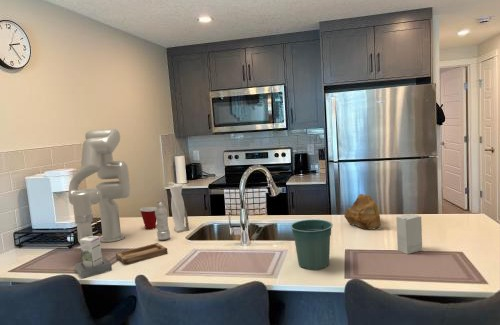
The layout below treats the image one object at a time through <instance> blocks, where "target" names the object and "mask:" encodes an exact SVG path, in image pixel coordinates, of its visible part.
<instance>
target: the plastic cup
mask: <svg viewBox="0 0 500 325" xmlns="http://www.w3.org/2000/svg"><path fill="white" fill-rule="evenodd" d="M157 207H158V206H157ZM157 207H156V206H146V207H141V208H140V209H139V212H140V215H141V217H142V220H143V224H144V228H145V229H146V230H153V228H154V229H156V227H157V219H156V216H155V211H156V209H157Z"/></svg>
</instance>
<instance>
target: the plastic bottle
mask: <svg viewBox="0 0 500 325" xmlns="http://www.w3.org/2000/svg"><path fill="white" fill-rule="evenodd" d="M156 206H157V209H156V211H155V216H156V227H157V231H156V232H157V233H156V236H157V239H159V241H166V240H168V239H169V240H170V237H171V231H170V228H169V222H168V221H169V220H168V218H169V216H168V214H169V213H168V212H169V211H168V208H166V207H165V201H158V202H156Z"/></svg>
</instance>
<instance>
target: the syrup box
mask: <svg viewBox="0 0 500 325" xmlns="http://www.w3.org/2000/svg"><path fill="white" fill-rule="evenodd" d="M100 238H101V237H100V236H97V235H93V236H87V237H84V238H82V239H81V240H80V243H79V244H80V251H81V257H82V262H83V267H84V268H85V269H86V268H90V267H94V266H97V265H101V264H103V262H102V257H103V255H102V246H101V241H100Z"/></svg>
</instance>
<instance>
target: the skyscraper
mask: <svg viewBox="0 0 500 325" xmlns="http://www.w3.org/2000/svg"><path fill="white" fill-rule="evenodd" d="M170 184H173V185H170ZM168 187H169V190H170V194H171V199H170V200H171V201H170V203H171V204H170V205H171V208H170V209H171V215H172V220H173V223H174V228H173V230H174V232H176V233H183V232H188V231H190V226H189V220H188V219H189V218H188V212H187V208H185V202H184V198H183V195H182V191H183V184H182V183H175V182H168Z"/></svg>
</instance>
